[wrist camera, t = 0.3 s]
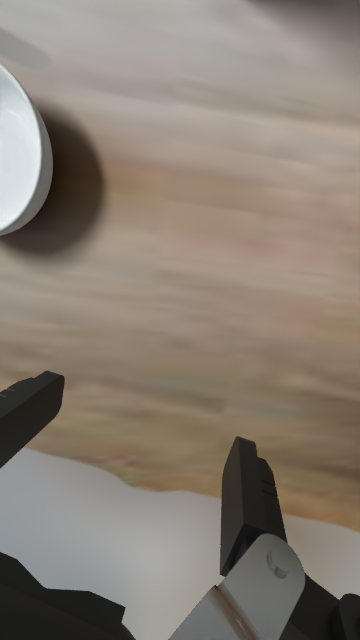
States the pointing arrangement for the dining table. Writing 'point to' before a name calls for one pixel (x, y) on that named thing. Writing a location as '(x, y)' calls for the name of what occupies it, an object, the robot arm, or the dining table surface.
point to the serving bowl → (21, 156)
